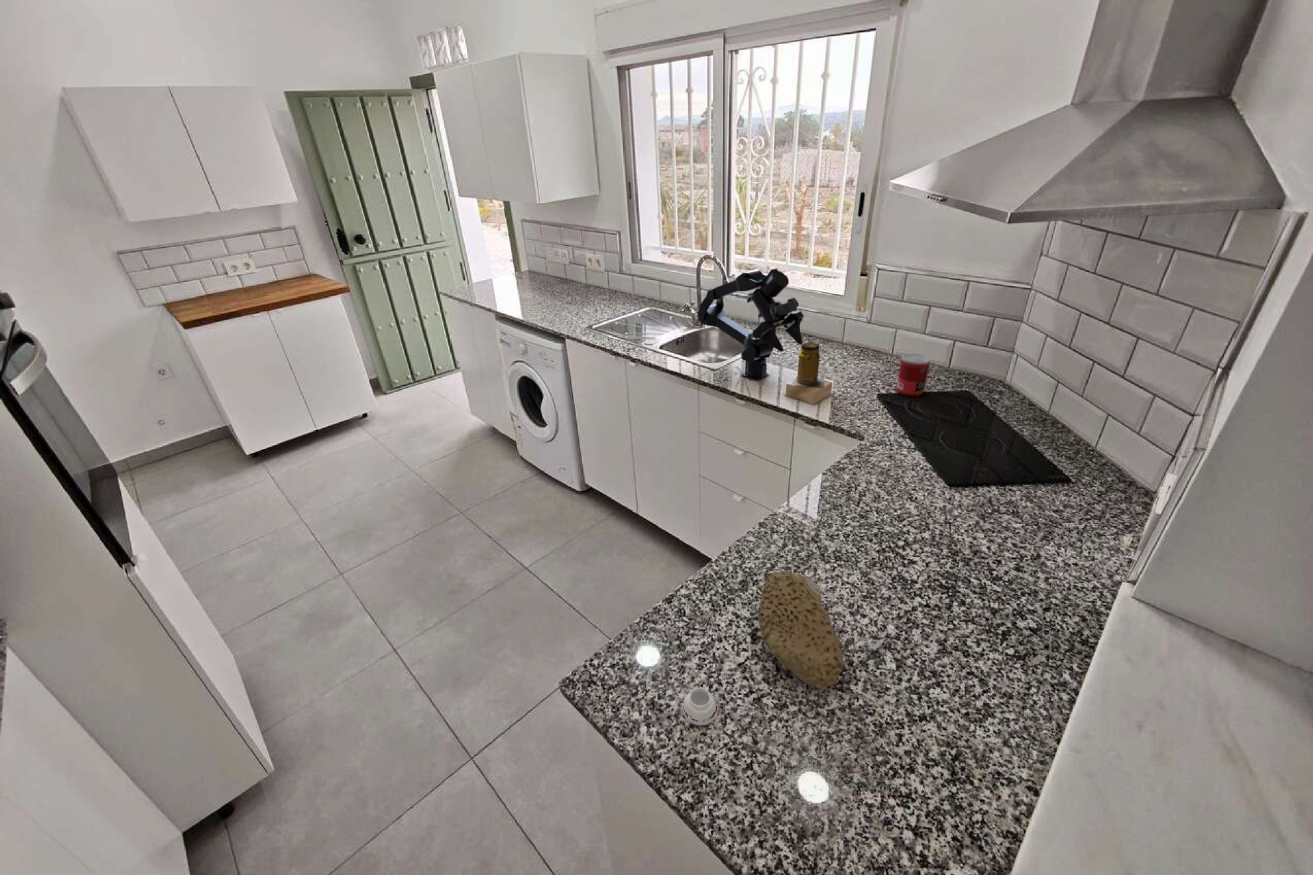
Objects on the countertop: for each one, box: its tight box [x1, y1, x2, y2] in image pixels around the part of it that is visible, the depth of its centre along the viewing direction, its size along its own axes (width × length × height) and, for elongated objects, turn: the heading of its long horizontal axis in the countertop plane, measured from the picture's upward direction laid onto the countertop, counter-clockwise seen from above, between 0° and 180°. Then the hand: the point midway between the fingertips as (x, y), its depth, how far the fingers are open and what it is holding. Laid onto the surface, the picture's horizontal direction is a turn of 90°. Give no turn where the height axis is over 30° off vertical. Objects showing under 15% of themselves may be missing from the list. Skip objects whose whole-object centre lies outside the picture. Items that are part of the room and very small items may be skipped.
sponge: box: [757, 570, 845, 689], centre depth 84 cm, size 13×8×20 cm
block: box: [785, 378, 833, 405], centre depth 167 cm, size 10×10×4 cm
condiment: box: [795, 342, 825, 387], centre depth 163 cm, size 7×8×12 cm
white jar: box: [681, 686, 719, 726], centre depth 75 cm, size 5×3×5 cm
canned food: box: [895, 353, 931, 397], centre depth 164 cm, size 8×8×11 cm
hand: (792, 347), depth 167 cm, fingers open, 9 cm apart
